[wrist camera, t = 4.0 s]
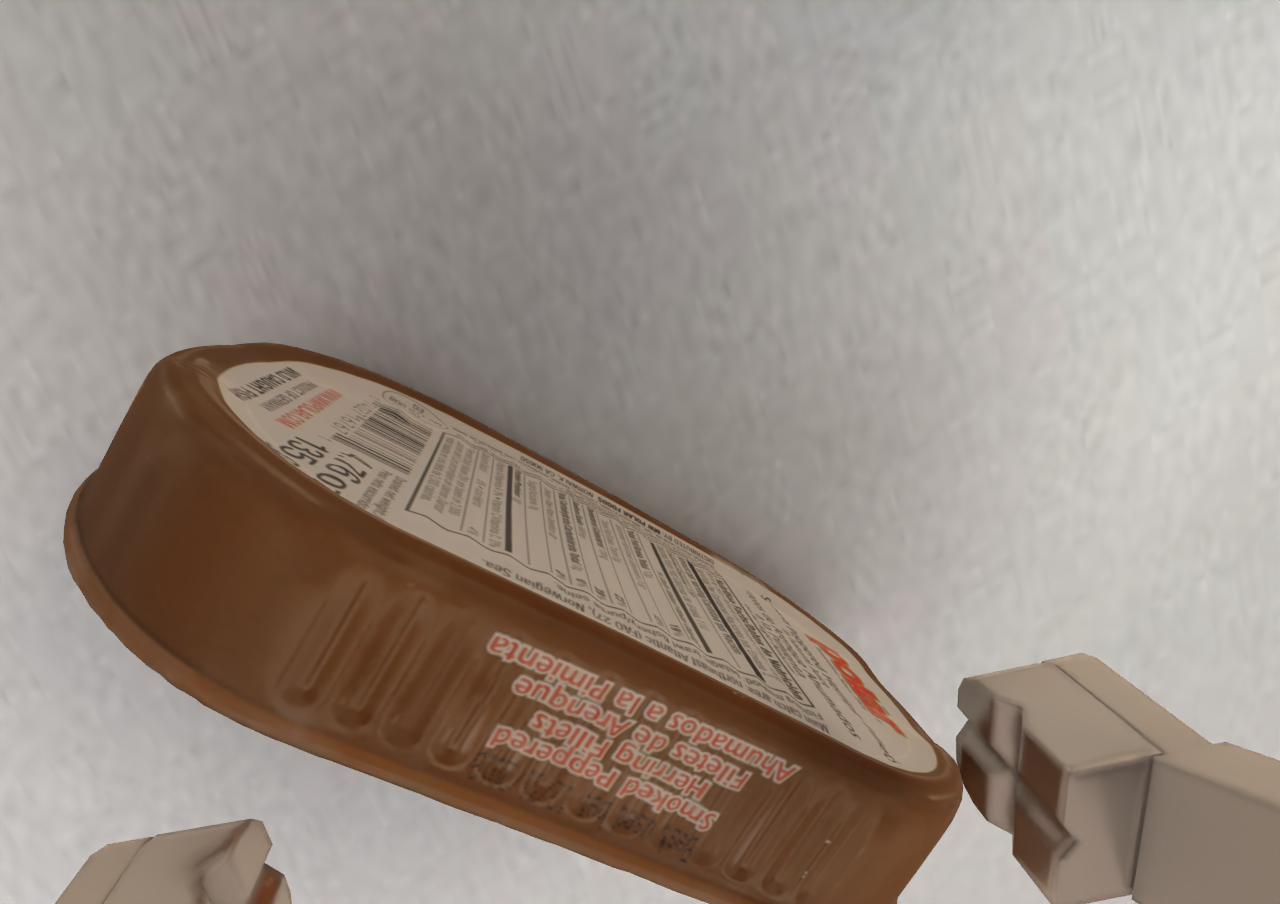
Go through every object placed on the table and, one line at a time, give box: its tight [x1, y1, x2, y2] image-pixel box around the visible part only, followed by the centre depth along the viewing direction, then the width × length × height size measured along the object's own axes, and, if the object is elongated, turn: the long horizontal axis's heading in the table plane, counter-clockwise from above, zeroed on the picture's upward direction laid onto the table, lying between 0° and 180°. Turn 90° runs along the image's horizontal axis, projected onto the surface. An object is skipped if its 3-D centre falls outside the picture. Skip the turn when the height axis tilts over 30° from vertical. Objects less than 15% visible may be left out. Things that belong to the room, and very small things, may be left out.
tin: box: [63, 343, 963, 904], centre depth 12 cm, size 15×3×8 cm, turn 57°
